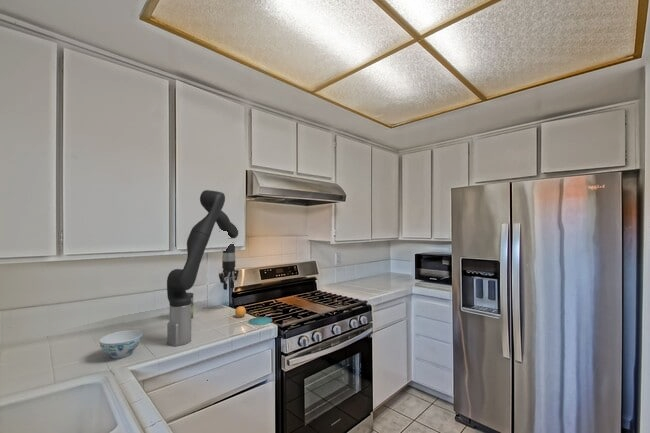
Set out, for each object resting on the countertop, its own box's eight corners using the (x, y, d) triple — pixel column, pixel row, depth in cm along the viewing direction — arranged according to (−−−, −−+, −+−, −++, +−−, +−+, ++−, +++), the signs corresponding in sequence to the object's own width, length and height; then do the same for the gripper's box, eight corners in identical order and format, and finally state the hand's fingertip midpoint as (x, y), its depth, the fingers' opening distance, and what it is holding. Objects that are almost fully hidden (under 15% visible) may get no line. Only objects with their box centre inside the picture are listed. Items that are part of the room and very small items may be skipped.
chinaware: (130, 345, 140) (130, 327, 140) (149, 352, 132) (149, 334, 132) (91, 358, 127) (92, 338, 127) (110, 366, 119) (110, 346, 119)
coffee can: (197, 317, 180) (197, 292, 180) (185, 322, 170) (186, 297, 170) (181, 316, 182) (181, 292, 182) (169, 321, 172) (169, 296, 172)
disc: (261, 326, 164) (261, 325, 164) (243, 322, 171) (243, 322, 171) (277, 319, 175) (277, 319, 175) (259, 316, 182) (259, 315, 182)
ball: (240, 319, 176) (240, 308, 176) (232, 317, 179) (232, 307, 179) (248, 316, 182) (248, 305, 182) (240, 314, 184) (240, 304, 185)
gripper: (224, 261, 177) (224, 291, 177) (242, 259, 190) (242, 287, 190) (214, 261, 181) (214, 290, 181) (233, 258, 194) (233, 286, 193)
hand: (228, 288), depth 185 cm, fingers open, 4 cm apart
